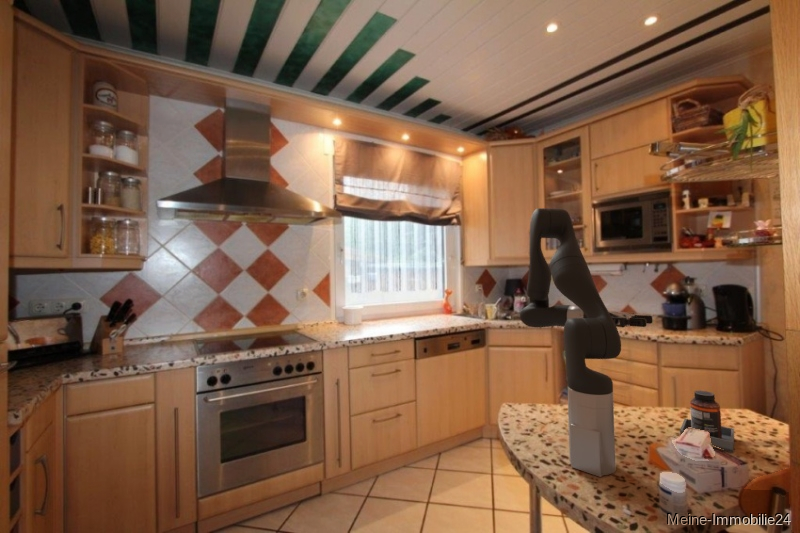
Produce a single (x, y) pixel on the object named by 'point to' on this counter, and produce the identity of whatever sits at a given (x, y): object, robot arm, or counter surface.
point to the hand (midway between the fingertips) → (649, 321)
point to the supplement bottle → (706, 413)
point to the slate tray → (723, 443)
